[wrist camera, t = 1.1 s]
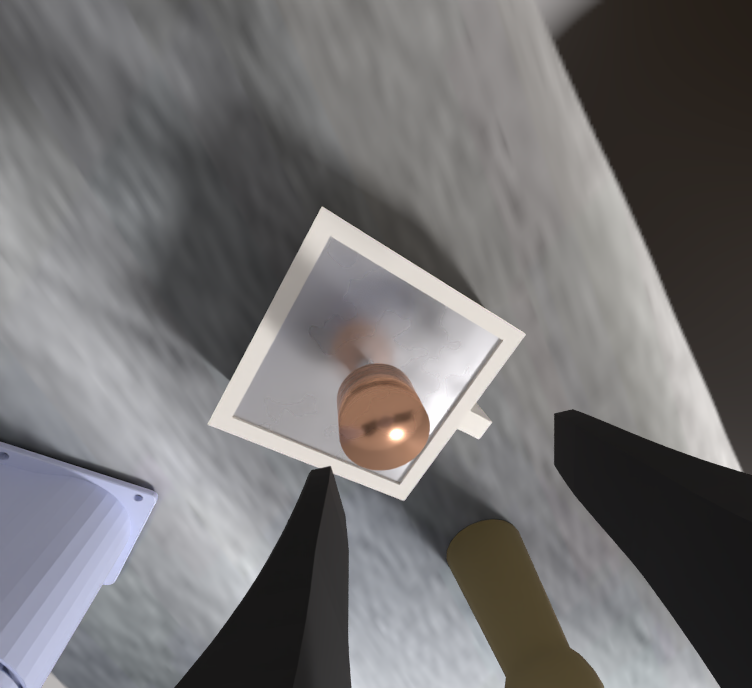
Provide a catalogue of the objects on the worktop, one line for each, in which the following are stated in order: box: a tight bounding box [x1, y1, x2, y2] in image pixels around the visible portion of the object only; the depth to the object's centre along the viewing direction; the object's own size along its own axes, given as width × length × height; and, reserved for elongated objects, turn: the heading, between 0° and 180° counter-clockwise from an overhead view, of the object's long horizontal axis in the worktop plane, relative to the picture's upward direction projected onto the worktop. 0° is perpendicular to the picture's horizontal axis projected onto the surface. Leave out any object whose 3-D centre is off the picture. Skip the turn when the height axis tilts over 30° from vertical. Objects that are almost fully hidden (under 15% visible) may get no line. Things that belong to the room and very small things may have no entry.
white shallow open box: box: [208, 207, 526, 501], centre depth 19 cm, size 13×11×4 cm
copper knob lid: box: [233, 236, 502, 483], centre depth 15 cm, size 9×9×5 cm
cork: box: [447, 519, 604, 688], centre depth 23 cm, size 6×6×11 cm
